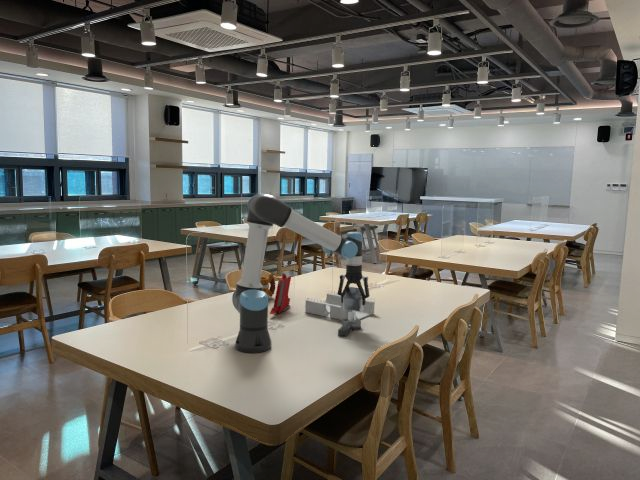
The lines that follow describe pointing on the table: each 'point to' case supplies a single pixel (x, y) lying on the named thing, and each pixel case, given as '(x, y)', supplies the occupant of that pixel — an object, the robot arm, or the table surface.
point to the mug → (265, 284)
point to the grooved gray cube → (352, 299)
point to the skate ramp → (337, 308)
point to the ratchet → (349, 324)
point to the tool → (282, 295)
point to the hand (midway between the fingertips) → (353, 310)
